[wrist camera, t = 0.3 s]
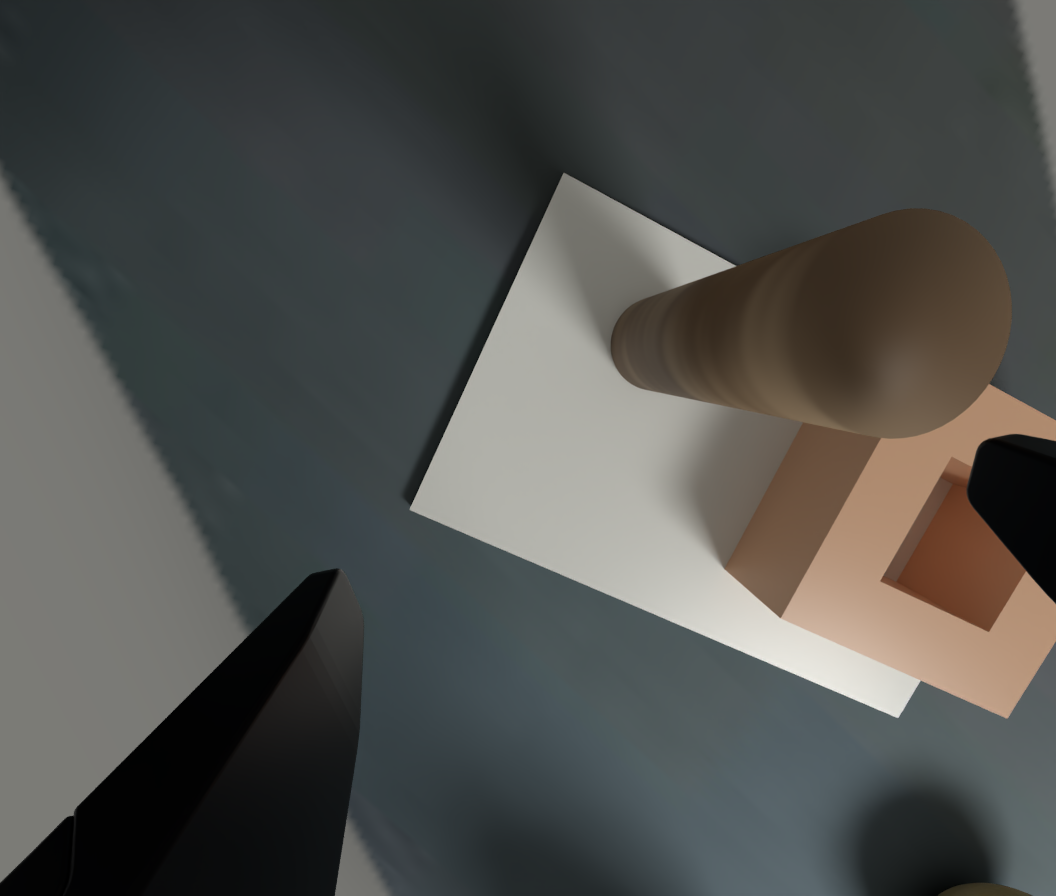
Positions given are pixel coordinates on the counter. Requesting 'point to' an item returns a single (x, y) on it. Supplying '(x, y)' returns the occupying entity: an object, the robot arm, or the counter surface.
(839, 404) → the walnut peg
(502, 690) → the counter surface
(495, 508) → the collar plate
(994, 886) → the potato
